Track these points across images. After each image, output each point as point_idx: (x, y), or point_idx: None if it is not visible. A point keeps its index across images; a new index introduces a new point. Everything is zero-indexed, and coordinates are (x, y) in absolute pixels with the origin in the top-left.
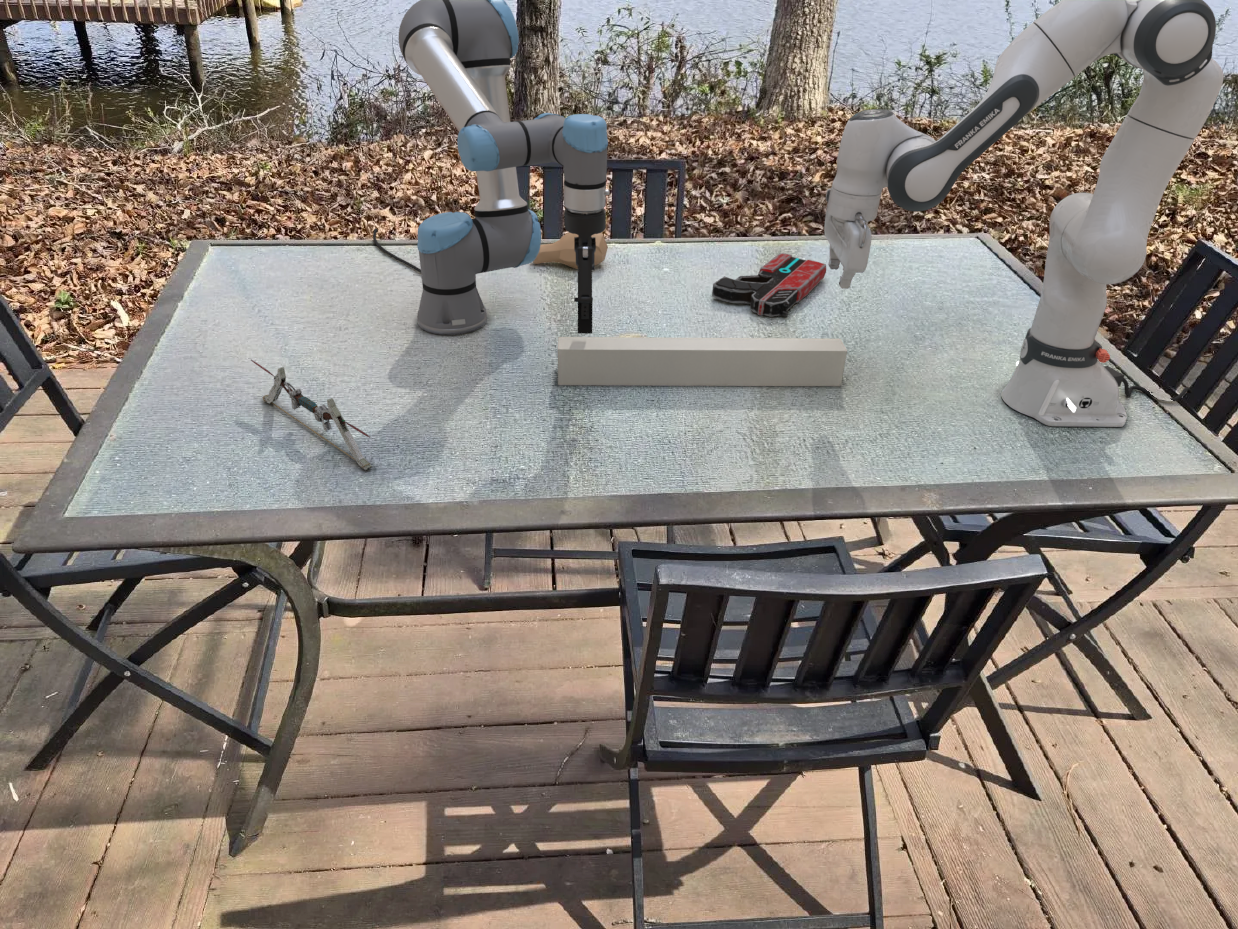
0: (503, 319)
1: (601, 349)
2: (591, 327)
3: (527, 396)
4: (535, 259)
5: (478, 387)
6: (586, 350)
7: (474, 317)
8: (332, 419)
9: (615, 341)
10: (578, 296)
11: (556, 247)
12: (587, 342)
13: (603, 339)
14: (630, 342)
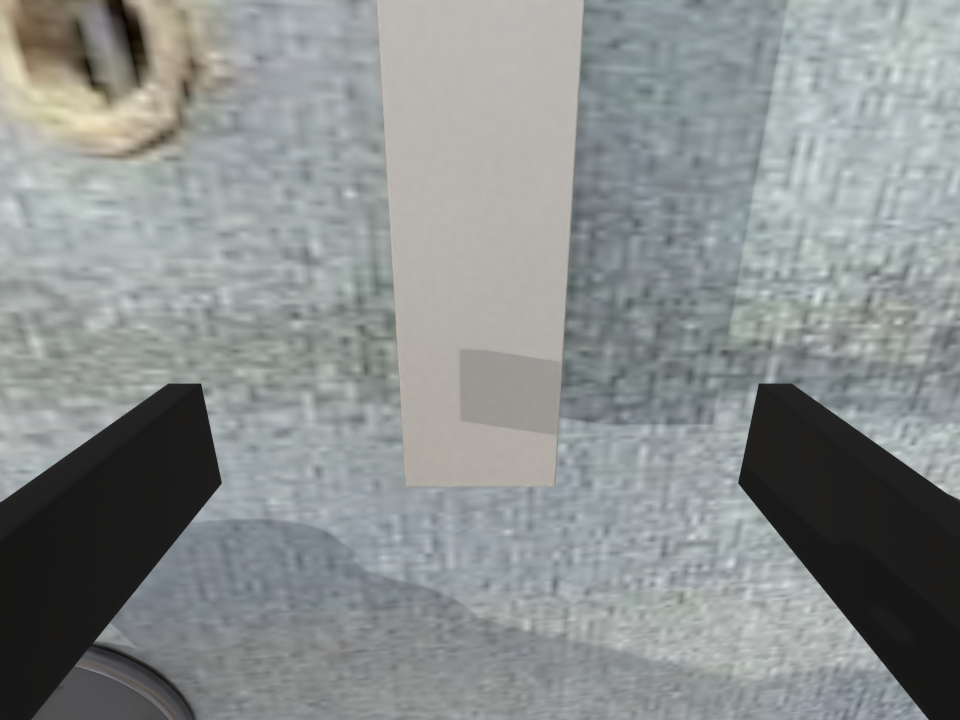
0: None
1: (568, 259)
2: (821, 412)
3: (609, 492)
4: None
5: (539, 624)
6: (562, 344)
7: (101, 708)
8: None
9: (453, 163)
10: (186, 518)
11: None
12: (472, 340)
13: (427, 244)
14: (466, 49)
